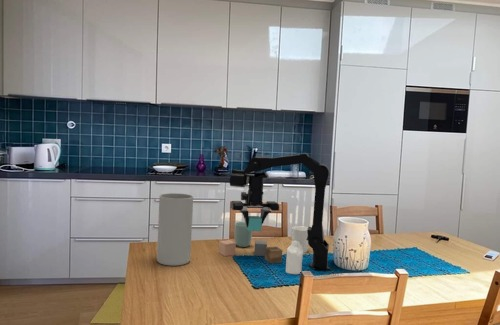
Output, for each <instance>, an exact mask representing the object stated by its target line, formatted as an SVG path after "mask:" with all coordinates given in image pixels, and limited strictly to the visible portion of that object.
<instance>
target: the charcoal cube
mask: <svg viewBox="0 0 500 325" xmlns="http://www.w3.org/2000/svg"><path fill="white" fill-rule="evenodd" d="M266 247H268V241H265V240H254V252H253V256H254V257H255V256H257V257H258V256H259V257H265V249H266Z"/></svg>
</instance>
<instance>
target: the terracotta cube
mask: <svg viewBox="0 0 500 325" xmlns="http://www.w3.org/2000/svg"><path fill="white" fill-rule="evenodd" d="M218 244H219V245H218V254H220V255H222V256H223V257H229V256H236V246H237V245H236V243H235V241H232V240H231V239H228V240H220V241H218Z"/></svg>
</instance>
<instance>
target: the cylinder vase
mask: <svg viewBox="0 0 500 325" xmlns="http://www.w3.org/2000/svg"><path fill="white" fill-rule="evenodd" d="M158 196H159V200H158V223H157V224H158V227H157V246H156V247H157V249H156V253H157V254H156V261H157V262H158V263H159V264H161V265H164V266H170V267H171V266H173V267H175V266H176V267H177V266H178V267H179V266H183V265H186V264H188V263H189V262H190V261H191V254H192V253H191V252H192V251H191V250H192V231H193V230H192V229H193V211H194V209H193V208H194V206H193V205H194V196H193V195H192V194H187V193H175V192H174V193H171V192H170V193H163V194H160V195H158Z"/></svg>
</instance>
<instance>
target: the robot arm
mask: <svg viewBox="0 0 500 325" xmlns="http://www.w3.org/2000/svg"><path fill="white" fill-rule="evenodd" d="M299 164H302V165H303V166H305V167H306V168H307V169H308V170H309V171H310V172H312V173H313V181H314V203H313V215H312V216H313V217H312V225H311V226H308V230H307V233H308V237H307V239H306V240H308V247H310V248H311V249H312V261H311V262H310V263H308V266H310V267H311V268H312V269H313V270H315V271H325V270H327V271H331V267H329V266H328V259H329V247H330V244H329V243H328V242H327V241H326V240H325V233H324V225H323V221H324V219H323V218H324V208H325V207H324V206H325V194H326V187H327V183H328V180H329V175H330V172H331V171H330V168H329V166H328V165H326V164H324V163H320V162H318V161H317V160H315V159H314V158H313V157H311V155H309V154H308V153H307V152H302V153H299V154H290V155H281V156H276V157H275V156H274V157H271V156H254V157H251V158H250V159H249V162H248V166H247V167H246V168H245V169H244V170H240V169H234V168H233V169H232V170H231V172H230V173H231V174H230V176H229V185H230V187H237V188H245V187H246V186H248V190H247V192H246V191H241V192H240V200H232V201H231V202H230V209H231V210H232V211H239V212H240V213H242V216H243V219H244V222H245V223H246V227H248V216H249V210H248V209H260V216H259V217H260V218H262V225H263V224H264V222H265V220H266V218H267V216H268V215H269V214H271V213H272V212H274V211H275V212H276V211H277V212H278V211H280V204H279V203H278V202H276V201H271V200H270V201H269V200H267V201H266V202H265V203H264V202H263V197H264V196H263V195H264V182H265V181H264V179H268V178H270V177H269V174H267V172H266V171H265V170H268V169H271V168H274V167H281V166H282V167H283V166H289V165H290V166H292V165H299ZM261 171H263V172H261ZM252 173H254V174H252ZM242 201H244V203H243V202H242Z"/></svg>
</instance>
